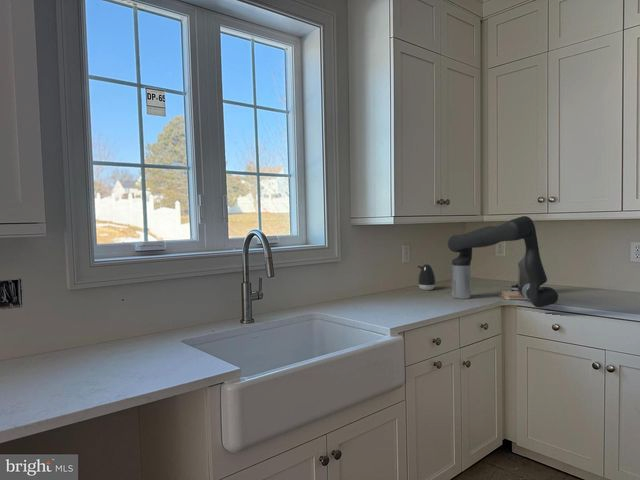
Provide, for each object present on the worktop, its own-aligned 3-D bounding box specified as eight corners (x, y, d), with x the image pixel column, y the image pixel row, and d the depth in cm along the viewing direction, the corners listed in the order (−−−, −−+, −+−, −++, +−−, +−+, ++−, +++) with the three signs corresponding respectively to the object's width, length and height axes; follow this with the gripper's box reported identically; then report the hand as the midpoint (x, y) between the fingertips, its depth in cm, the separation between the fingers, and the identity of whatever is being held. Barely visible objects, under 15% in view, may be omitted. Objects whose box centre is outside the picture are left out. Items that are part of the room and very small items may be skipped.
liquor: (516, 293, 238) (516, 238, 237) (524, 291, 244) (524, 238, 242) (532, 295, 231) (532, 239, 230) (541, 293, 236) (541, 238, 235)
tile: (509, 295, 220) (501, 290, 233) (509, 299, 220) (501, 294, 233) (529, 295, 218) (520, 290, 232) (529, 299, 218) (520, 294, 232)
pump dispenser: (417, 288, 263) (416, 263, 262) (434, 288, 261) (434, 263, 261) (418, 291, 253) (418, 265, 252) (436, 291, 251) (436, 264, 251)
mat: (504, 299, 221) (504, 298, 221) (497, 295, 233) (497, 294, 233) (533, 299, 219) (533, 298, 219) (525, 295, 231) (525, 294, 231)
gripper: (545, 283, 202) (532, 278, 219) (515, 283, 204) (504, 278, 221) (545, 299, 202) (532, 293, 219) (515, 299, 204) (504, 293, 221)
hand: (518, 285), depth 220 cm, fingers closed
